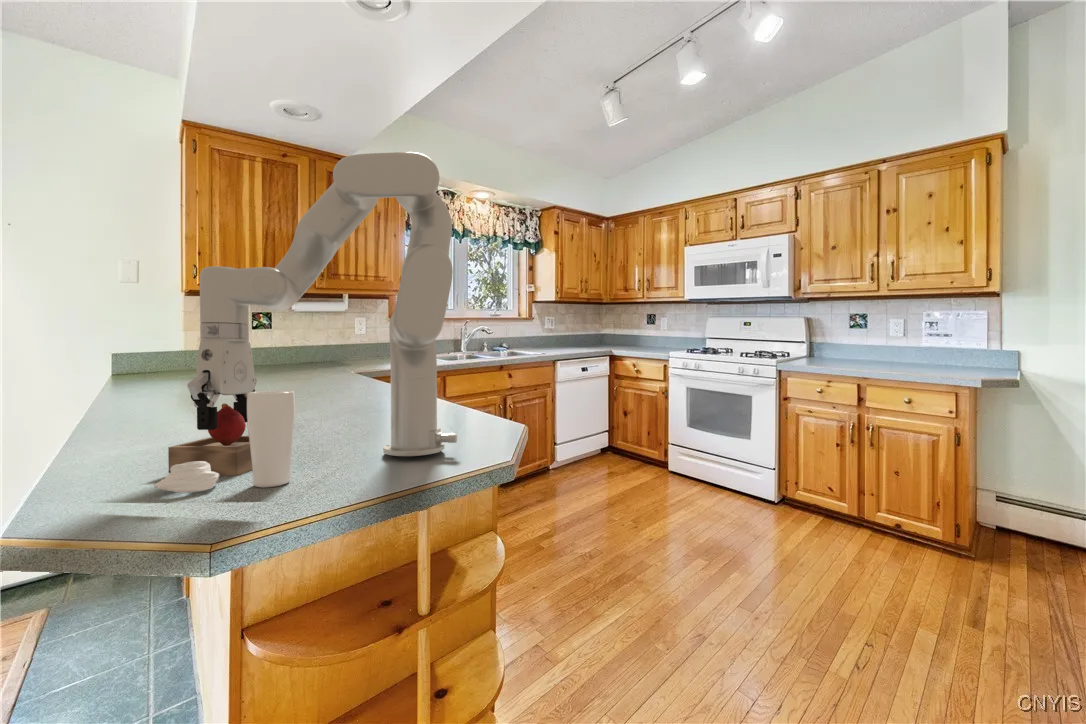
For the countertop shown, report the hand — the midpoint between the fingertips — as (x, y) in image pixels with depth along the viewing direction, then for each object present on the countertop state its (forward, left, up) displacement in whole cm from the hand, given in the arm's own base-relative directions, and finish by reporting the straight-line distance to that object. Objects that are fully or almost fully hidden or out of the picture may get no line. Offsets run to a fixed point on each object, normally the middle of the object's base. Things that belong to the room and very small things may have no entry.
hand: (225, 425), depth 87 cm
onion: (0, 0, -4) cm, 4 cm away
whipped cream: (-5, +16, -8) cm, 18 cm away
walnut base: (0, 0, -8) cm, 8 cm away
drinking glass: (-15, +12, -8) cm, 21 cm away
